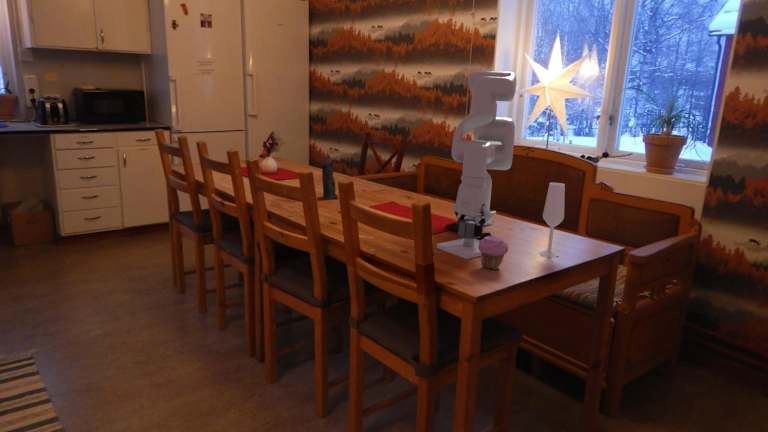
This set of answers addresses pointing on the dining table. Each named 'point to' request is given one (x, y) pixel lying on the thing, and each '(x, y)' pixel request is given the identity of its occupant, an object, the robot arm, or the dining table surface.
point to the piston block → (462, 247)
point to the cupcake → (492, 251)
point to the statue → (328, 179)
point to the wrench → (454, 228)
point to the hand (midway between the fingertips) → (469, 233)
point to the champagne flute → (553, 213)
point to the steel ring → (467, 229)
